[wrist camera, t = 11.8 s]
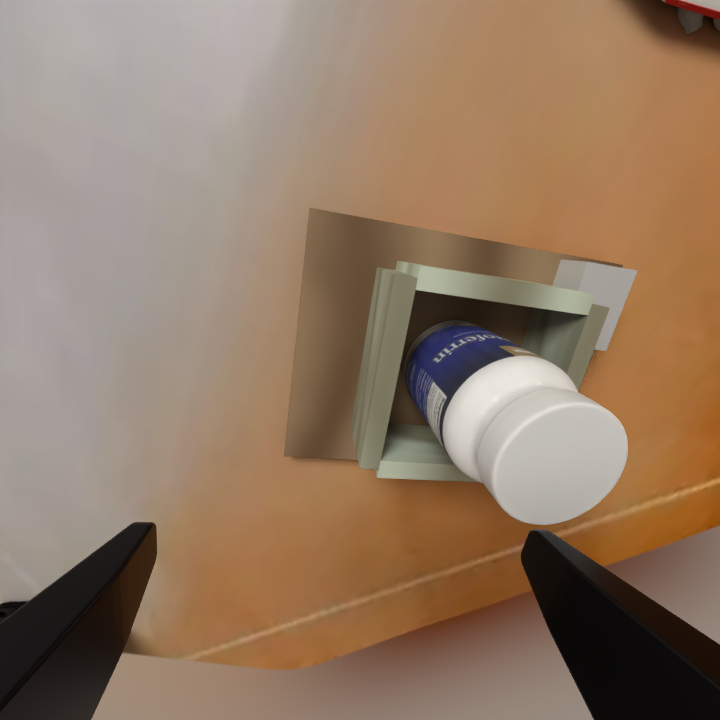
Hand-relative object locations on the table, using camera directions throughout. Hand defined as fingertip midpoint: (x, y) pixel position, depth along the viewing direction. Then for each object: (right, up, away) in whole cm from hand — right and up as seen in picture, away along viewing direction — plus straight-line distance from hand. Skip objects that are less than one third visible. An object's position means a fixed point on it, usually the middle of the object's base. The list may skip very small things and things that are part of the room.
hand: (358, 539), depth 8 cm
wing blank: (+12, +8, +12) cm, 19 cm away
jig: (+5, +4, +13) cm, 15 cm away
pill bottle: (+5, +4, +12) cm, 14 cm away
